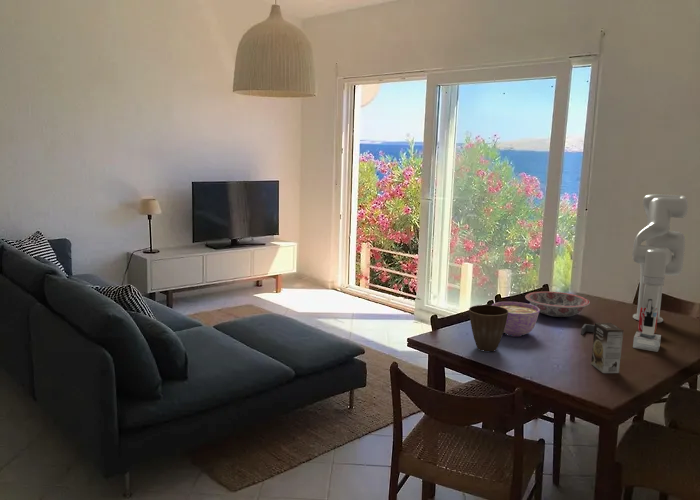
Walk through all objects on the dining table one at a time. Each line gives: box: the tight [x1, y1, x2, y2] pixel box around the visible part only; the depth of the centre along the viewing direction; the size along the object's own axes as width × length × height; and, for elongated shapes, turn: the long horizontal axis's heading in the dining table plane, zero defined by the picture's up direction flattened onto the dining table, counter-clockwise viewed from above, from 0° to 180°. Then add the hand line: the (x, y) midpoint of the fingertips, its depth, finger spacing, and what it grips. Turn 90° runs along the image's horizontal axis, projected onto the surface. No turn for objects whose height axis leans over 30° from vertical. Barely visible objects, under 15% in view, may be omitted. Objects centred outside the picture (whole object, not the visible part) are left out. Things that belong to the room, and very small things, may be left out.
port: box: [632, 330, 662, 353], centre depth 238 cm, size 9×9×4 cm
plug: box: [642, 308, 658, 336], centre depth 237 cm, size 4×4×10 cm
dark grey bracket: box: [580, 323, 595, 336], centre depth 254 cm, size 7×7×3 cm
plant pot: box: [468, 304, 508, 352], centre depth 232 cm, size 15×15×16 cm
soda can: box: [637, 307, 658, 334], centre depth 256 cm, size 7×7×12 cm
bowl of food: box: [491, 301, 540, 337], centre depth 252 cm, size 20×20×12 cm
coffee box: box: [590, 322, 624, 374], centre depth 212 cm, size 9×6×16 cm
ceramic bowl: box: [524, 291, 590, 318], centre depth 282 cm, size 29×29×8 cm
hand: (648, 324), depth 237 cm, fingers closed on plug, 4 cm apart
